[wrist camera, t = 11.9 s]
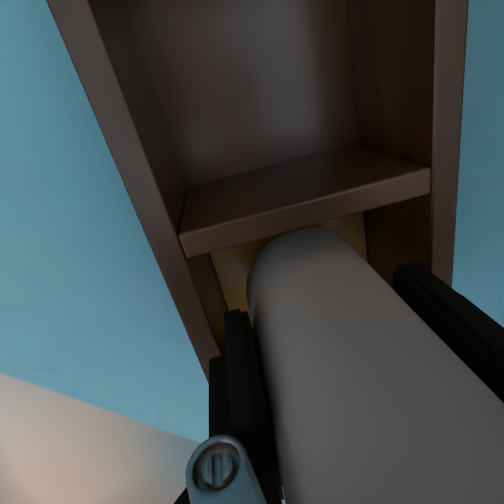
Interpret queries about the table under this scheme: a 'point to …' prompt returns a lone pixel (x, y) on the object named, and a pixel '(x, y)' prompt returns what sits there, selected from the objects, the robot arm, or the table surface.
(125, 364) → the table surface
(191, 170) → the caddy
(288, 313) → the beverage can
